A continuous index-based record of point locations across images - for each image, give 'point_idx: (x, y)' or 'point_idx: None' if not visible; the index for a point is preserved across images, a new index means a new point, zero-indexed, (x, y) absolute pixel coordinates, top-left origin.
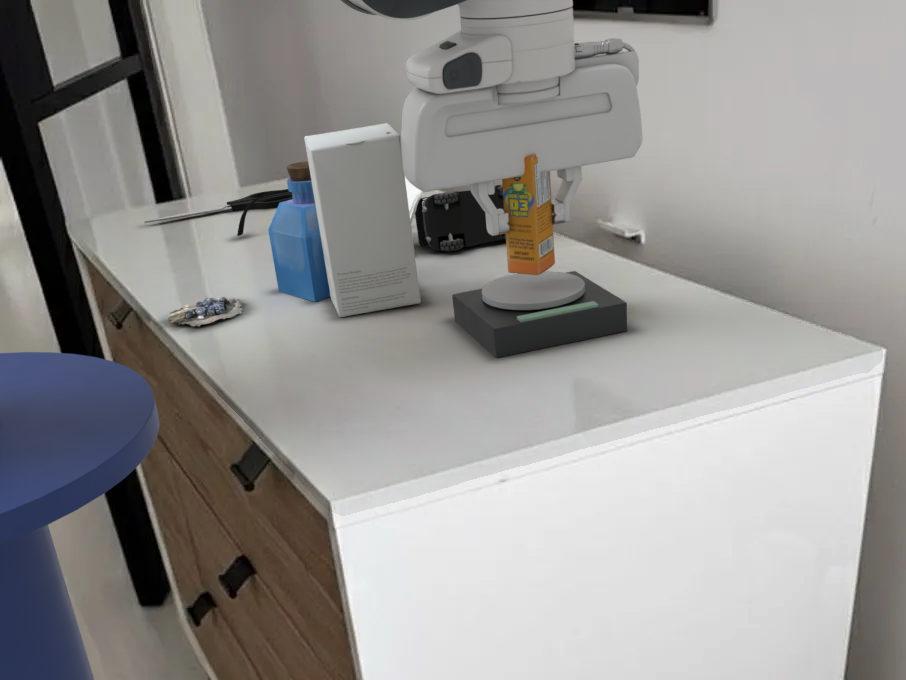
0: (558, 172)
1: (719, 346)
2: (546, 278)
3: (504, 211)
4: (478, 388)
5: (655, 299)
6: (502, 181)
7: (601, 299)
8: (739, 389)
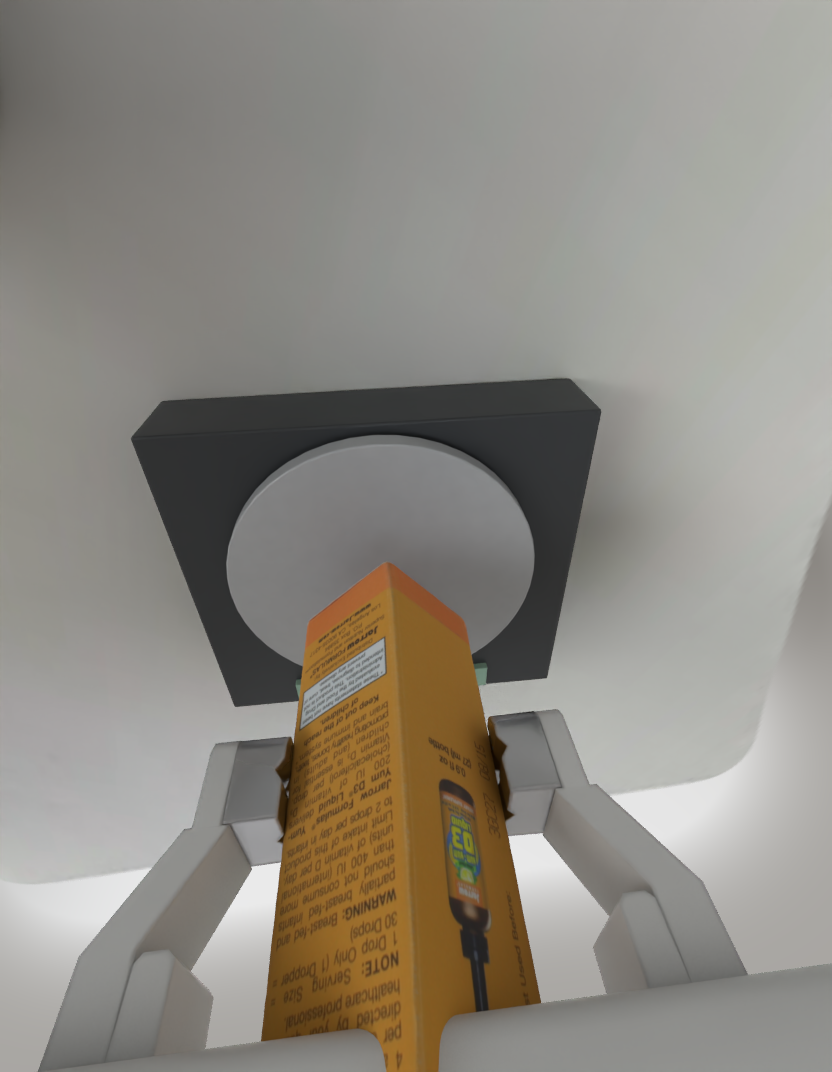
0: (624, 936)
1: (603, 720)
2: (450, 535)
3: (280, 849)
4: (196, 738)
5: (706, 495)
6: (265, 1014)
7: (514, 649)
8: None
